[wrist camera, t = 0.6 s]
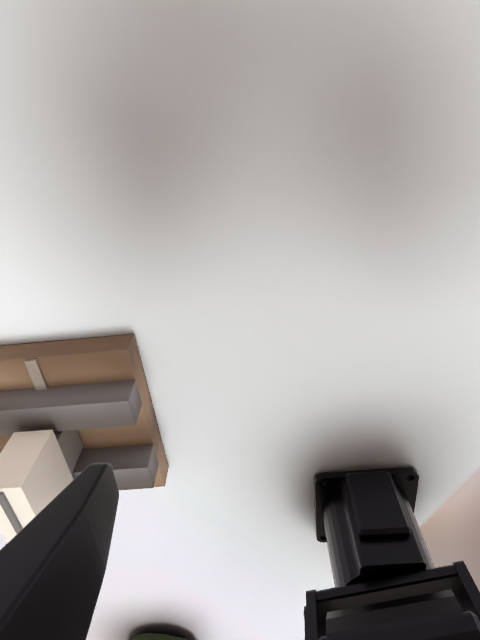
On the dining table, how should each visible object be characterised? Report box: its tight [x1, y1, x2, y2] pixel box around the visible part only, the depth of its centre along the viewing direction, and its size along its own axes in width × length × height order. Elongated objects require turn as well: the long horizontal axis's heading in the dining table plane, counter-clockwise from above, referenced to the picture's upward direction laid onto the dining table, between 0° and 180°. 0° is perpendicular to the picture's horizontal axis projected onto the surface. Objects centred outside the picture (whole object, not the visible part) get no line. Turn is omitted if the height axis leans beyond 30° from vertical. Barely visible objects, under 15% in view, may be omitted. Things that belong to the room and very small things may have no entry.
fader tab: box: [0, 430, 83, 543], centre depth 22 cm, size 4×2×6 cm, turn 5°
